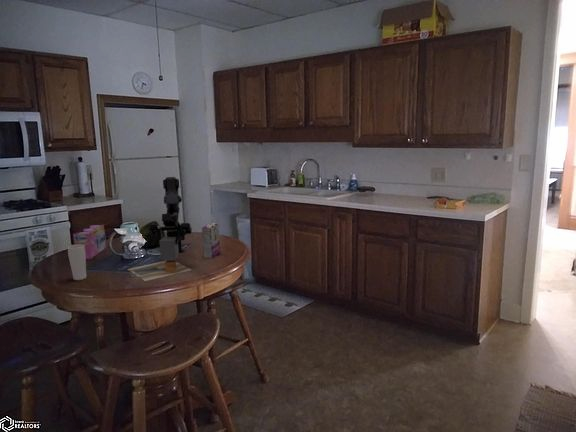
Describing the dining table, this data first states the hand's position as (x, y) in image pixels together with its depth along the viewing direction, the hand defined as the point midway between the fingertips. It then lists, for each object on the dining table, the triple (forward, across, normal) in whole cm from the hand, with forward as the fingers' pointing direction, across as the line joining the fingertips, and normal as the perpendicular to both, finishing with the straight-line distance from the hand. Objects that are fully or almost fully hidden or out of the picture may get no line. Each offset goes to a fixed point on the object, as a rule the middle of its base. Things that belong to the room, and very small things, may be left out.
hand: (168, 244), depth 192 cm
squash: (-24, -22, +43) cm, 54 cm away
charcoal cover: (+4, 0, +6) cm, 7 cm away
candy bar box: (-8, +16, +26) cm, 31 cm away
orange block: (+8, 0, +10) cm, 13 cm away
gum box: (-16, -51, +35) cm, 64 cm away
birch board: (+8, -6, +11) cm, 14 cm away
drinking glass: (+14, -39, +5) cm, 41 cm away
